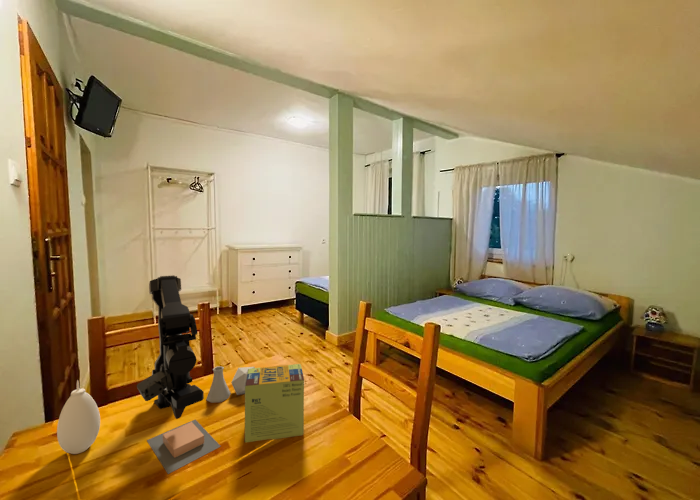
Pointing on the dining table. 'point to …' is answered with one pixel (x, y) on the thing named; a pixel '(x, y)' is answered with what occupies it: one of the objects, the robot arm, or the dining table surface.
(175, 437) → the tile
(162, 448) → the mat
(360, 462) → the dining table surface
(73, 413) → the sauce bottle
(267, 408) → the protein box
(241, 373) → the pale grey faceted chunk
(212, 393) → the flask
